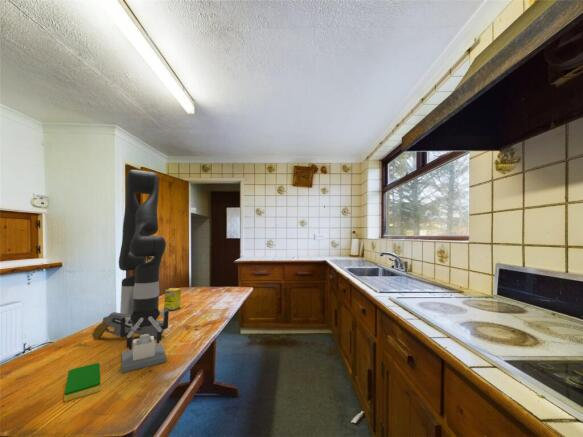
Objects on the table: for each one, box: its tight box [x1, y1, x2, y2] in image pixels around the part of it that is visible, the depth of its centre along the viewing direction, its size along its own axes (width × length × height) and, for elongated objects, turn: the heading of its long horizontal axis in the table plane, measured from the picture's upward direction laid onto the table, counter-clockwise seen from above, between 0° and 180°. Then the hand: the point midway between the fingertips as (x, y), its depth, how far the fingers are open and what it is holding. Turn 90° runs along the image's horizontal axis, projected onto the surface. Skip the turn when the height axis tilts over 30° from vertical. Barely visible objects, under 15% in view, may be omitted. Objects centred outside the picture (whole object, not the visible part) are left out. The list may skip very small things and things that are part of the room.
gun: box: [91, 311, 165, 340], centre depth 100 cm, size 3×25×15 cm, turn 95°
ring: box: [132, 336, 156, 361], centre depth 83 cm, size 6×6×4 cm
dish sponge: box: [63, 362, 101, 402], centre depth 69 cm, size 7×14×2 cm, turn 38°
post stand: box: [121, 334, 167, 374], centre depth 83 cm, size 12×12×8 cm
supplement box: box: [163, 287, 182, 312], centre depth 137 cm, size 6×6×11 cm
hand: (144, 345), depth 83 cm, fingers open, 7 cm apart
